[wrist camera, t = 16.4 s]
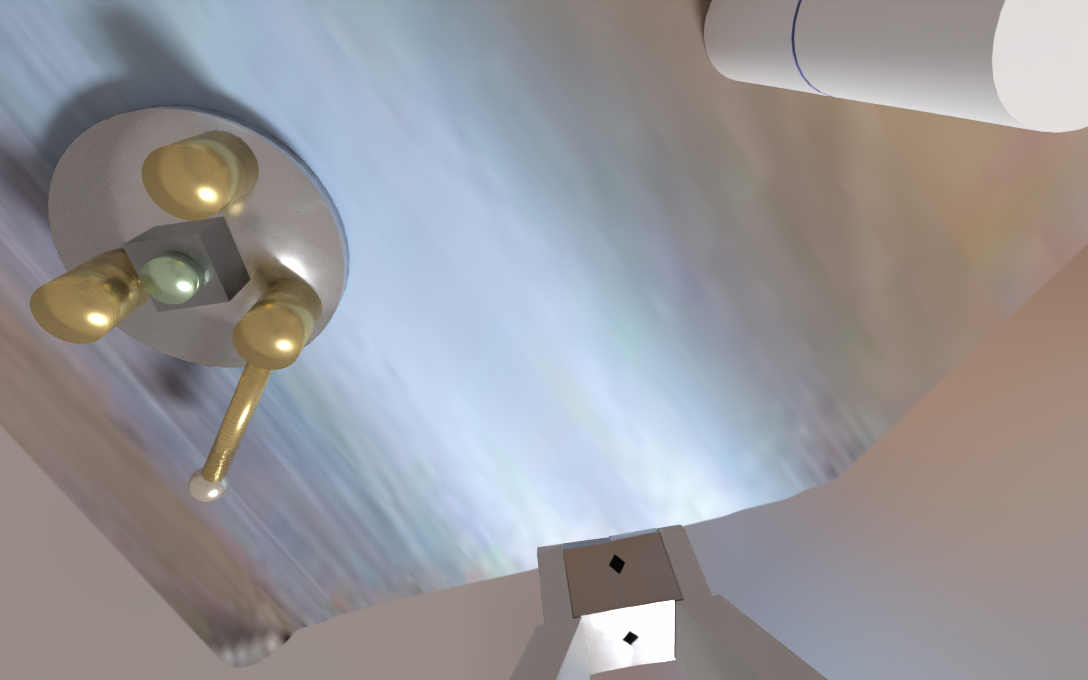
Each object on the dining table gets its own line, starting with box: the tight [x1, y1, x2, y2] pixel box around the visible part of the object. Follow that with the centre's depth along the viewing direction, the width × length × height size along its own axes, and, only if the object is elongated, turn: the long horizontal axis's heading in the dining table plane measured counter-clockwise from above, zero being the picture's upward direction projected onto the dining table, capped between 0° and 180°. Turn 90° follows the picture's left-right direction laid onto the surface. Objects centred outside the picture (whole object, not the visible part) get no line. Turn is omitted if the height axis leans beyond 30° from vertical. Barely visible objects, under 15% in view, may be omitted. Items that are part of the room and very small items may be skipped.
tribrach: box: [30, 105, 349, 368], centre depth 38 cm, size 20×20×8 cm
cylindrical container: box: [704, 0, 1088, 133], centre depth 27 cm, size 7×7×25 cm
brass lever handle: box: [188, 280, 322, 502], centre depth 43 cm, size 20×4×6 cm, turn 148°
